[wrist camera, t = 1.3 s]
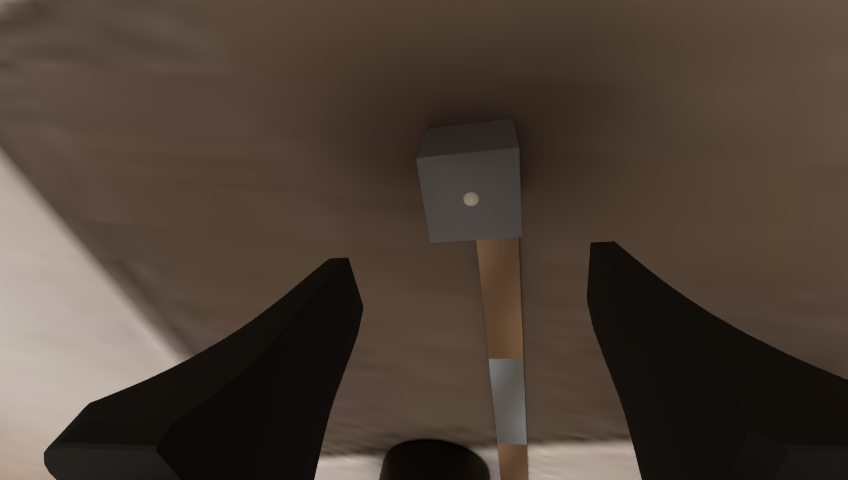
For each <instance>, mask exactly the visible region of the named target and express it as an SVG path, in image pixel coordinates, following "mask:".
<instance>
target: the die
mask: <svg viewBox="0 0 848 480" xmlns="http://www.w3.org/2000/svg"><path fill="white" fill-rule="evenodd" d="M416 164H417V169H418V175H419V181H420V187H421V192H422V198H423V204H424V209H425V215H426V221H427V226H428V232H429V238H430V243H439V242H454V241H470V240H485V239H501V238H516V237H522V214H521V185H520V156H519V144H518V139H517V134H516V130H515V125H514V120H513V118H508V119H500V120H491V121H483V122H475V123H466V124H458V125H450V126H441V127H433V128H427V130H426V133H425V135H424V138H423V140H422V143H421V146H420V148H419V151H418V153H417V156H416Z"/></svg>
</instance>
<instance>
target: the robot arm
mask: <svg viewBox="0 0 848 480" xmlns="http://www.w3.org/2000/svg"><path fill="white" fill-rule="evenodd" d="M587 302H588V307H589V311H590V316H591V320H592V324H593V328H594V332H595V334H596V337H597V340H598V342H599V345H600V348H601V350H602V353H603V356H604V358H605V361H606V364H607V366H608V369H609V372H610V374H611V377H612V379H613V382H614V385H615V387H616V390H617V393H618V395H619V398H620V401H621V404H622V407H623V410H624V413H625V416H626V420H627V423H628V427H629V431H630V435H631V439H632V442H633V446H634V450H635V454H636V458H637V462H638V466H639V470H640V474H641V478H642V480H848V380H846V379H844V378H841V377H839V376H837V375H834V374H832V373H829V372H827V371H825V370H822V369H820V368H817V367H815V366H813V365H810V364H808V363H806V362H804V361H802V360H799V359H797V358H795V357H793V356H790V355H788V354H786V353H784V352H782V351H780V350H778V349H776V348H774V347H772V346H770V345H768V344H766V343H764V342H762V341H760V340H758V339H756V338H754V337H752V336H750V335H748V334H746V333H744V332H742V331H741V330H739V329H737V328H735V327H733V326H732V325H730V324H728V323H727V322H725V321H723V320H721V319H720V318H718V317H716V316H714V315H713V314H711V313H709V312H708V311H706V310H705V309H703V308H701V307H700V306H698V305H697V304H695V303H694V302H692V301H691V300H689V299H688V298H686V297H685V296H684V295H682V294H681V293H679V292H678V291H676V290H675V289H674V288H672V287H671V286H669V285H668V284H667V283H665V282H664V281H663V280H661V279H660V278H659V277H657V276H656V275H655V274H654V273H652V272H651V271H650V270H648V269H647V268H646V267H645V266H643V265H642V264H641V263H640V262H639V261H637V260H636V259H635V258H634V257H632V256H631V255H630V254H629V253H628V252H626V251H625V250H624V249H623V248H622V247H620V246H619V245H618V244H617V243H615V242H614V241H612V242H595V243H591V246H590V260H589V274H588V288H587ZM362 312H363V304H362V301H361V298H360V294H359V291H358V288H357V285H356V281H355V278H354V275H353V272H352V268H351V265H350V262H349V259H348V258H332V259H329V260H327V261H326V262H325V263H323V264H322V265H321V266H320V267H318V268H317V269H316V270H315V271H313V272H312V273H311V274H310V275H309V276H308V277H306V278H305V279H304V280H303V281H302V282H300V283H299V284H298V285H297V286H296V287H294V288H293V289H292V290H291V291H290V292H288V293H287V294H286V295H285V296H284V297H282V298H281V299H280V300H278V301H277V302H276V303H275V304H273V305H272V306H271V307H269V308H268V309H267V310H265V311H264V312H263V313H262V314H260V315H259V316H258V317H256V318H255V319H253V320H252V321H251V322H249V323H248V324H246V325H245V326H243V327H242V328H240V329H239V330H237V331H236V332H234V333H233V334H231V335H230V336H228V337H227V338H225V339H223V340H222V341H220V342H218V343H217V344H215V345H213V346H211V347H209V348H208V349H206V350H204V351H202V352H201V353H199V354H197V355H195V356H194V357H192V358H190V359H188V360H186V361H184V362H182V363H180V364H178V365H176V366H174V367H172V368H170V369H168V370H166V371H164V372H162V373H160V374H158V375H156V376H154V377H151V378H149V379H147V380H145V381H143V382H140V383H138V384H136V385H133V386H131V387H128V388H126V389H124V390H121V391H119V392H116V393H114V394H111V395H109V396H106V397H104V398H102V399H99V400H96V401H94V402H91V403H89V404H88V405H87V406H86V407H85V408H84V409H83V410H82V411H81V412H80V413H79V415H78V416H77V417H76V418H75V419H74V420H73V421H72V422H71V423H70V424H69V425H68V427H67V428H66V429H65V430H64V431H63V432H62V433H61V434H60V435H59V436H58V437H57V438H56V439H55V440H54V441H53V443H52V444H51V445H50V446H49V447H48V448H47V449H46V451H45V452H44V463H45V466H46V468H47V469H48V471H49V473H50V474H51V475H52V476H53V477H54V478H55V479H56V480H314V478H315V473H316V469H317V464H318V460H319V455H320V451H321V447H322V442H323V438H324V434H325V430H326V426H327V422H328V418H329V414H330V411H331V408H332V405H333V401H334V398H335V395H336V393H337V390H338V387H339V385H340V382H341V379H342V377H343V374H344V371H345V368H346V366H347V363H348V360H349V358H350V355H351V352H352V349H353V347H354V344H355V341H356V338H357V335H358V331H359V326H360V322H361V317H362Z"/></svg>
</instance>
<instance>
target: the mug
mask: <svg viewBox="0 0 848 480" xmlns="http://www.w3.org/2000/svg"><path fill="white" fill-rule="evenodd" d="M379 480H490V475H489V472H488V470H487V467H486V466H485V464H484V463H483V462H482V461H481V460H480V459H479V458H478V457H477V456H475V455H474V454H472V453H471V452H469V451H467V450H465V449H463V448H461V447H458V446H455V445H452V444H448V443H443V442H436V441H415V442H409V443H405V444H402V445H400V446H397V447H395V448H394V449H392V450H391V451H390V452H389V453H388V454H387V456H386V457H385V459H384V461H383V464H382V469H381V474H380V478H379Z"/></svg>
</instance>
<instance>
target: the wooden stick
mask: <svg viewBox="0 0 848 480" xmlns="http://www.w3.org/2000/svg"><path fill="white" fill-rule="evenodd" d="M476 243H477V252H478V262H479V271H480V281H481V291H482V300H483V310H484V319H485V329H486V339H487V348H488V358H489V367H490V377H491V386H492V396H493V406H494V415H495V425H496V434H497V444H498V454H499V463H500V473H501V480H528V464H527V438H526V413H525V388H524V362H523V337H522V312H521V287H520V261H519V237H516V238H501V239H485V240H476Z"/></svg>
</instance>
